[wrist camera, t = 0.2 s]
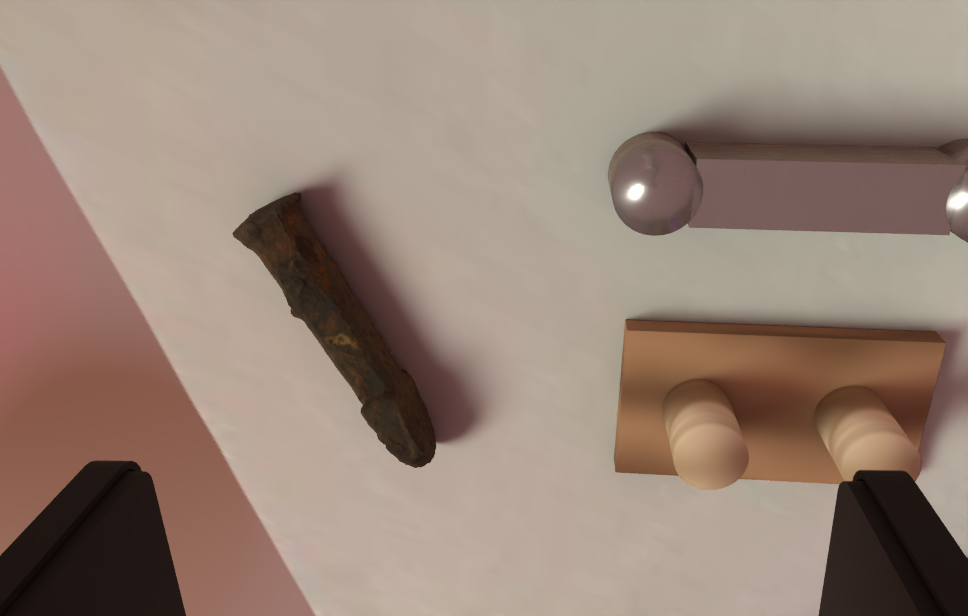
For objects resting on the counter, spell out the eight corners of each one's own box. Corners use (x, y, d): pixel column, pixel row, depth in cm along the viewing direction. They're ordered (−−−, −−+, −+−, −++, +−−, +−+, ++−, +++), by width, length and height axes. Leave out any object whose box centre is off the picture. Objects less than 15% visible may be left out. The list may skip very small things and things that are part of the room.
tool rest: (625, 319, 49) (635, 375, 42) (935, 331, 47) (993, 390, 41) (614, 458, 53) (621, 528, 46) (899, 473, 51) (947, 547, 45)
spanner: (611, 131, 44) (615, 147, 41) (1014, 139, 43) (1057, 156, 39) (605, 211, 46) (609, 234, 42) (992, 222, 44) (1031, 246, 41)
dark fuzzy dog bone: (246, 211, 48) (216, 236, 44) (301, 183, 47) (276, 206, 43) (400, 454, 54) (386, 497, 50) (452, 434, 53) (442, 476, 49)
